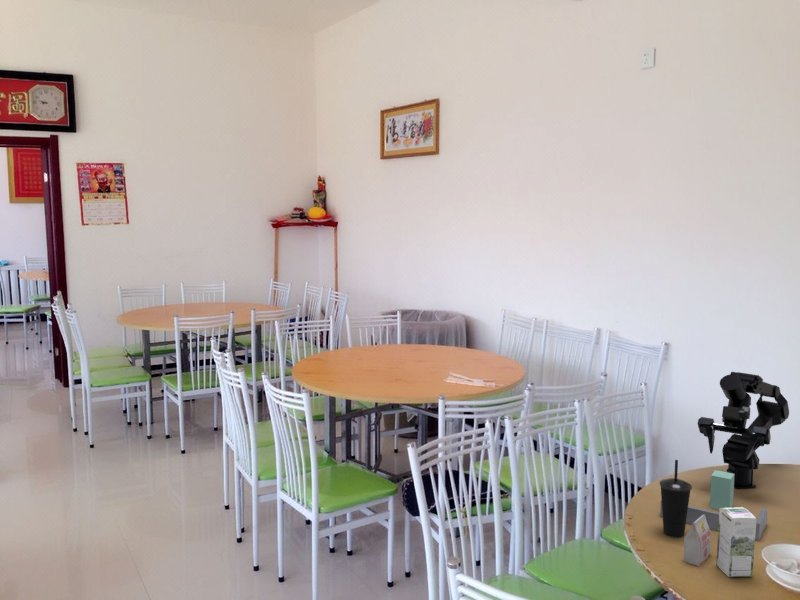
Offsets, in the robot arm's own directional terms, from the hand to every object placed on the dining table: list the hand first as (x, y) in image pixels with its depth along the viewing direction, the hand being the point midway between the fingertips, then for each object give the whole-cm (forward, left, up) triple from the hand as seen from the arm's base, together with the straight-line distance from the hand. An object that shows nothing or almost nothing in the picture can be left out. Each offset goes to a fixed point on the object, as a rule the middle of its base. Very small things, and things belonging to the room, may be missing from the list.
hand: (728, 456), depth 192 cm
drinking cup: (+26, +17, -14) cm, 34 cm away
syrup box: (+22, +36, -14) cm, 44 cm away
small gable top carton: (+27, +29, -14) cm, 42 cm away
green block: (+4, +4, -14) cm, 15 cm away
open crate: (+12, +12, -14) cm, 22 cm away
